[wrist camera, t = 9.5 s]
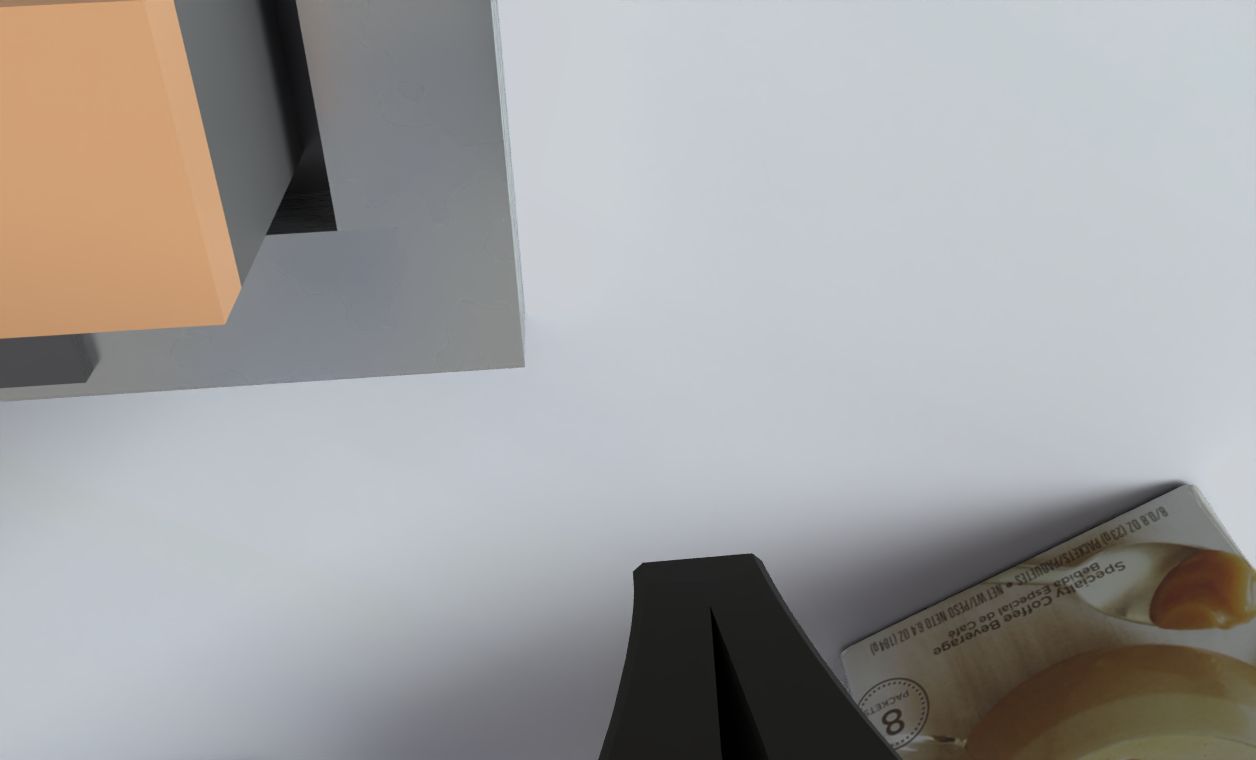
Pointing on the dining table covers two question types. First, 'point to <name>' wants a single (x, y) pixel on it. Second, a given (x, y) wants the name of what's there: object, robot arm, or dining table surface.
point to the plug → (137, 160)
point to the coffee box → (1080, 651)
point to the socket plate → (351, 223)
